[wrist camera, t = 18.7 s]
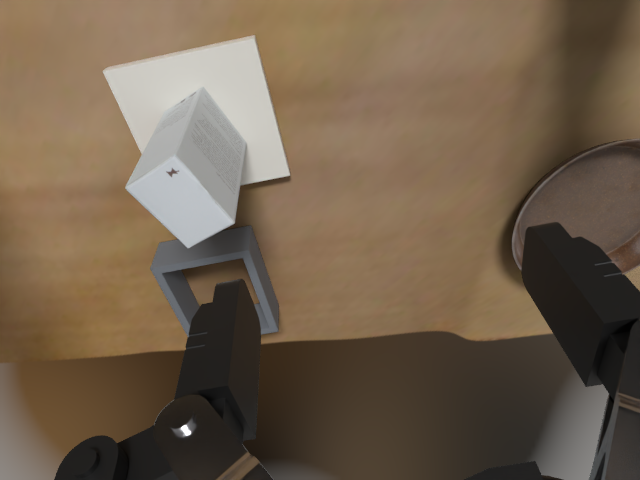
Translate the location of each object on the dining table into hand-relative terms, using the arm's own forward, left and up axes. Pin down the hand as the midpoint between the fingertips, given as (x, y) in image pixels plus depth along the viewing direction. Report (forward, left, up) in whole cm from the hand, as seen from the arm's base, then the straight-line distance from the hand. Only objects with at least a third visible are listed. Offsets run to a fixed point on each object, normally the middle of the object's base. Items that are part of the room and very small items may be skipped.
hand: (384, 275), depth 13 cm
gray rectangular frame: (-15, -22, -28) cm, 39 cm away
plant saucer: (+24, -22, -29) cm, 43 cm away
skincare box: (-11, -5, -27) cm, 30 cm away
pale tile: (-11, -5, -28) cm, 31 cm away
